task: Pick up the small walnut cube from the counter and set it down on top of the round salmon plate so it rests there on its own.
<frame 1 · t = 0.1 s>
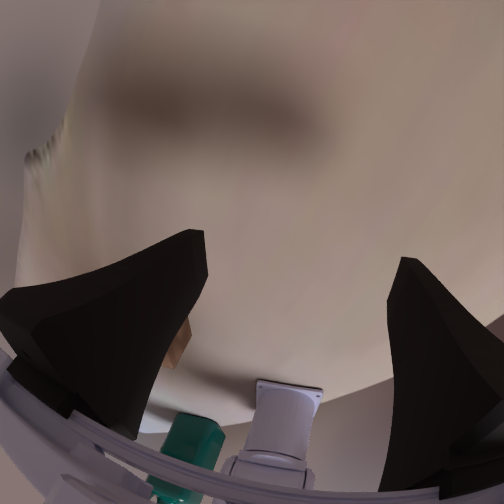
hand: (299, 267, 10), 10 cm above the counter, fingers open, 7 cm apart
walnut cube: (168, 314, 30), on the counter
green plastic tall container: (199, 423, 46), on the counter
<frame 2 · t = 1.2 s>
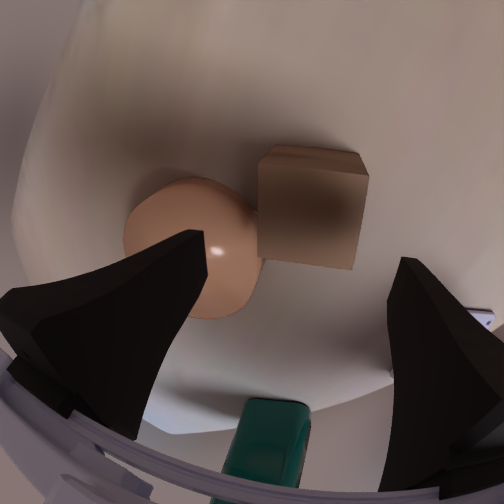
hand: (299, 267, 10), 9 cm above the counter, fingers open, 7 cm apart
walnut cube: (315, 186, 17), on the counter
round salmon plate: (202, 239, 22), on the counter
green plastic tall container: (275, 412, 34), on the counter
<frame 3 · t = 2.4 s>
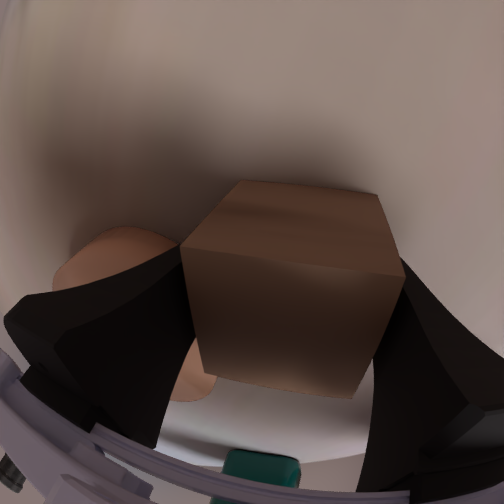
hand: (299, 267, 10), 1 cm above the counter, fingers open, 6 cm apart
walnut cube: (303, 245, 11), on the counter
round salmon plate: (154, 302, 16), on the counter
green plastic tall container: (261, 460, 28), on the counter
sauce bottle: (76, 378, 30), on the counter
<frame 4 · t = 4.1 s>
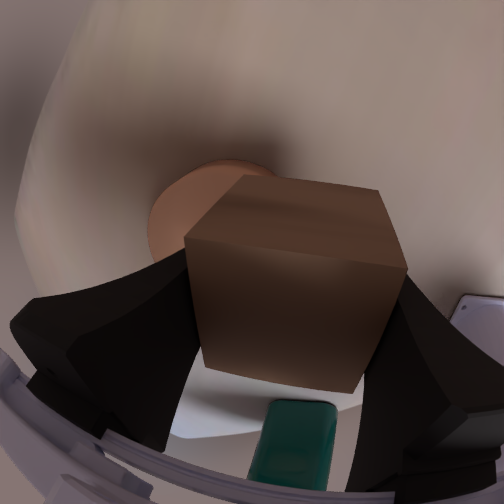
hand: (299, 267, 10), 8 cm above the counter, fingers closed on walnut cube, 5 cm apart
walnut cube: (305, 240, 11), point 7 cm above the counter, touching gripper
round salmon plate: (235, 228, 20), on the counter
green plastic tall container: (299, 413, 32), on the counter
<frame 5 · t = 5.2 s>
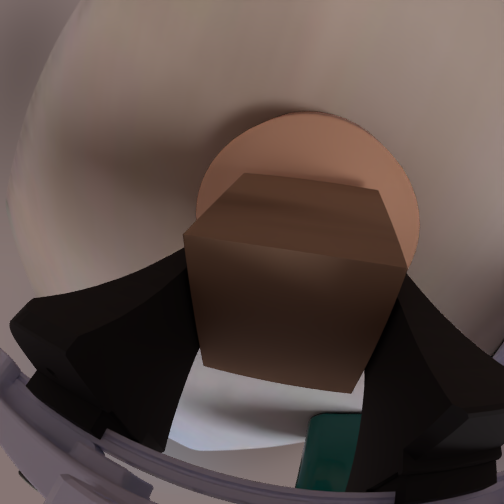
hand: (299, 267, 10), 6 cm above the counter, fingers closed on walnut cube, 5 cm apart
walnut cube: (304, 239, 11), point 4 cm above the counter, touching gripper
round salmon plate: (311, 205, 15), on the counter
green plastic tall container: (340, 425, 27), on the counter
when the fingers open (6 cm above the counter, at t = 5.8 s): walnut cube stays where it is, resting on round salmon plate.
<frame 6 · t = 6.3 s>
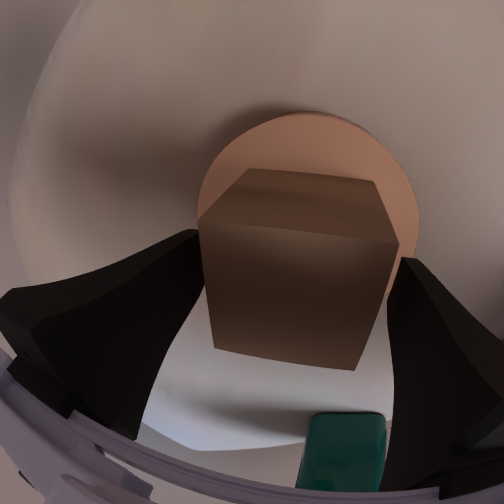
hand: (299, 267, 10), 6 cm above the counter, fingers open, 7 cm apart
walnut cube: (306, 229, 12), point 3 cm above the counter, touching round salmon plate
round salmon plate: (311, 204, 15), on the counter, touching walnut cube
green plastic tall container: (340, 425, 27), on the counter
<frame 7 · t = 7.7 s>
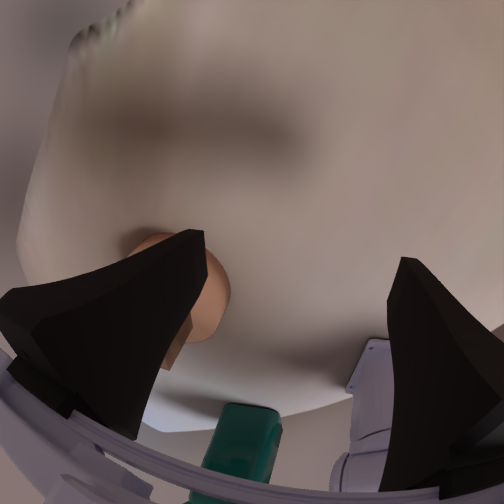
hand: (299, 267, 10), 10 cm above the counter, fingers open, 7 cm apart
walnut cube: (163, 300, 23), point 3 cm above the counter, touching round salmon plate
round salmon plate: (181, 278, 26), on the counter, touching walnut cube
green plastic tall container: (250, 415, 38), on the counter
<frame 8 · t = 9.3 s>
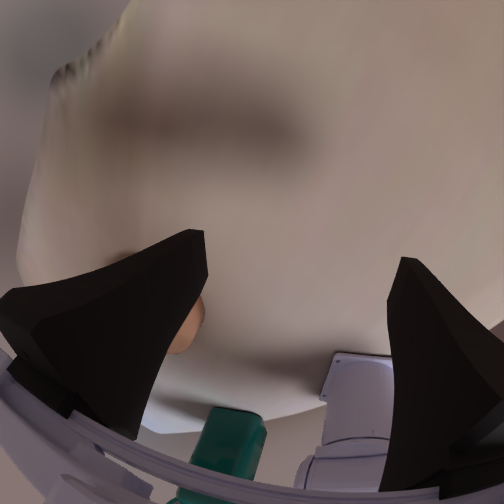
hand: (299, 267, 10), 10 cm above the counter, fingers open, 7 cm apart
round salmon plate: (161, 296, 29), on the counter, touching walnut cube
green plastic tall container: (236, 418, 40), on the counter
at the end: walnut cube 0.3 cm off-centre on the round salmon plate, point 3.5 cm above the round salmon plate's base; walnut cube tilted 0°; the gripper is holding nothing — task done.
